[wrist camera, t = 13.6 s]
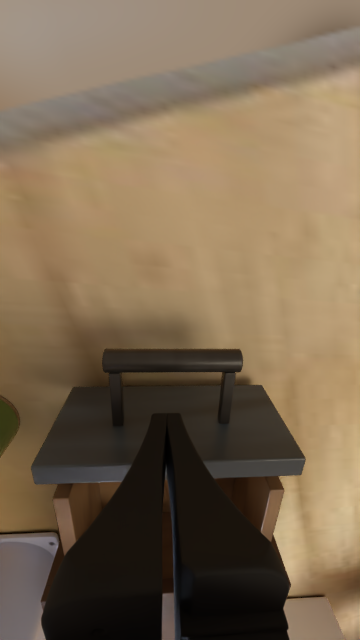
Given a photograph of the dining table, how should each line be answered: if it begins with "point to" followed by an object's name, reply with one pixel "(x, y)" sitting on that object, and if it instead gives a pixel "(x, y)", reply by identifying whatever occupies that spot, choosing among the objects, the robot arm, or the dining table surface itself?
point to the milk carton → (311, 619)
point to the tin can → (7, 424)
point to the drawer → (142, 401)
